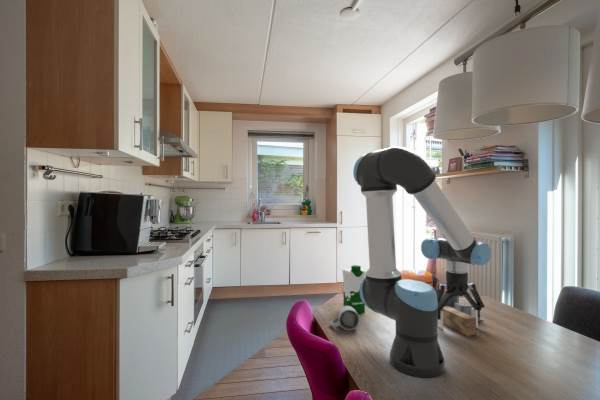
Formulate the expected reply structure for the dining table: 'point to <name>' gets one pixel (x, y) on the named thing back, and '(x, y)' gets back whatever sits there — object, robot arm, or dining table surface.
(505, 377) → the dining table surface
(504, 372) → the dining table surface
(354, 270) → the milk carton
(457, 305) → the endcap holder
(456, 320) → the wooden block
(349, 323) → the ceramic mug
